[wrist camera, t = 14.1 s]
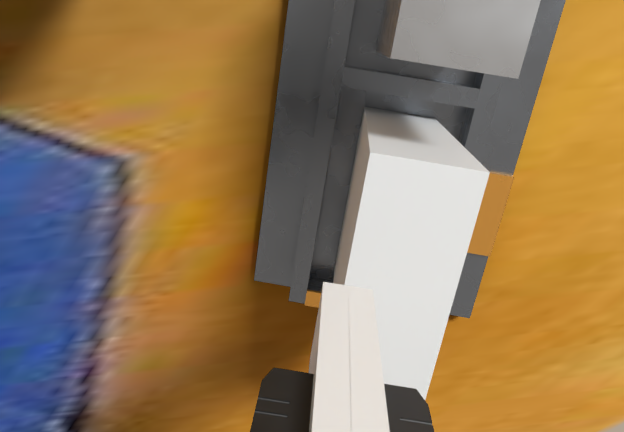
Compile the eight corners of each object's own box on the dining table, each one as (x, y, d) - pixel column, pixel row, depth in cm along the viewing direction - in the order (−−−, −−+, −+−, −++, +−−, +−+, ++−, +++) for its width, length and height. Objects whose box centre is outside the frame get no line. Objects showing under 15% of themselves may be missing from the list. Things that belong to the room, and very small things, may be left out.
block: (334, 266, 31) (322, 394, 20) (364, 106, 28) (370, 152, 16) (397, 277, 31) (421, 412, 20) (435, 118, 28) (489, 172, 16)
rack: (257, 272, 33) (198, 411, 21) (320, -227, 24) (281, -515, 11) (465, 308, 33) (532, 472, 20) (611, -184, 23) (897, -434, 11)
